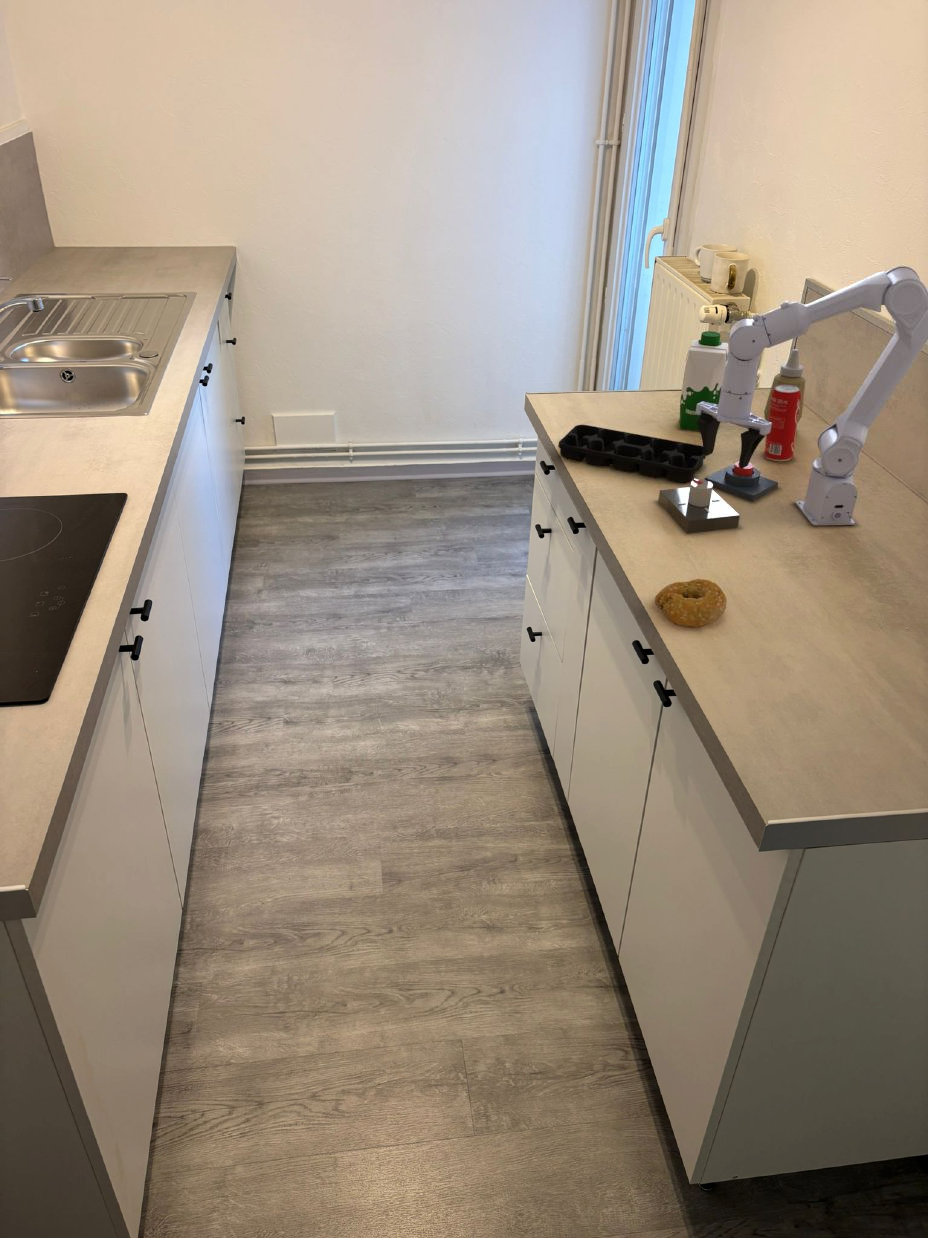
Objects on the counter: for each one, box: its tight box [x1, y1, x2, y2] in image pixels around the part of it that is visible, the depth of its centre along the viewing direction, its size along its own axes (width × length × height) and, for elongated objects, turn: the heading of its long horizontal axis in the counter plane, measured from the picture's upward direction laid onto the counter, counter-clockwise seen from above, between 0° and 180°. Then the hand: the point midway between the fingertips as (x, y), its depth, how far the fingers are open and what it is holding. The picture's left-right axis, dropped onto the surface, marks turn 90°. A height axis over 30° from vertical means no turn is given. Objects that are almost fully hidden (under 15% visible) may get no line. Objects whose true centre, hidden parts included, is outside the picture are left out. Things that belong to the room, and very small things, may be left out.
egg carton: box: [558, 424, 707, 484], centre depth 198 cm, size 18×30×4 cm, turn 76°
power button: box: [734, 461, 755, 476], centre depth 188 cm, size 4×4×2 cm
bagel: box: [654, 578, 727, 628], centre depth 149 cm, size 10×11×5 cm
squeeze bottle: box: [763, 348, 806, 425], centre depth 210 cm, size 8×8×18 cm
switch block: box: [704, 464, 779, 503], centre depth 189 cm, size 11×9×3 cm
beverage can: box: [764, 384, 801, 462], centre depth 198 cm, size 6×6×15 cm
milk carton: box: [679, 330, 729, 432], centre depth 211 cm, size 9×9×20 cm
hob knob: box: [688, 478, 714, 507], centre depth 176 cm, size 4×4×4 cm
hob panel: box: [657, 486, 741, 534], centre depth 178 cm, size 13×10×3 cm
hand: (725, 460), depth 179 cm, fingers open, 7 cm apart
